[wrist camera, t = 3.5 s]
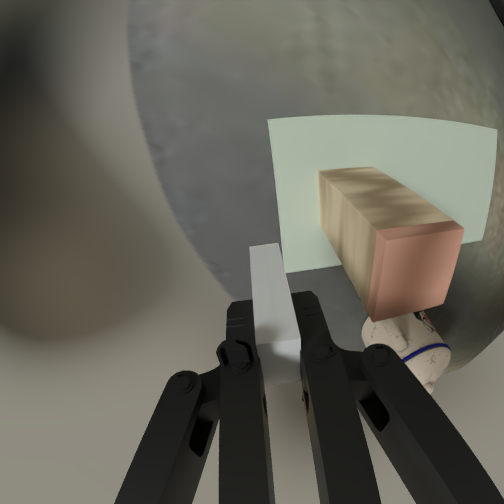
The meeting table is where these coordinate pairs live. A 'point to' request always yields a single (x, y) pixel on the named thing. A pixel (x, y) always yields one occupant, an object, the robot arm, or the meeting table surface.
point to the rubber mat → (385, 160)
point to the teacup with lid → (412, 344)
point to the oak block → (388, 240)
